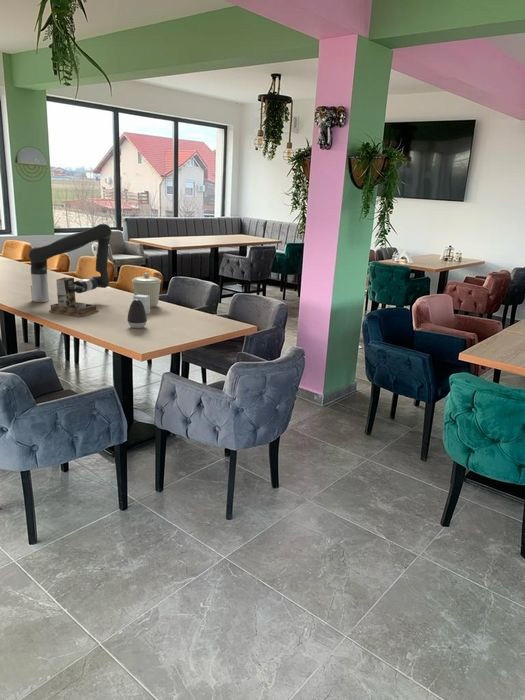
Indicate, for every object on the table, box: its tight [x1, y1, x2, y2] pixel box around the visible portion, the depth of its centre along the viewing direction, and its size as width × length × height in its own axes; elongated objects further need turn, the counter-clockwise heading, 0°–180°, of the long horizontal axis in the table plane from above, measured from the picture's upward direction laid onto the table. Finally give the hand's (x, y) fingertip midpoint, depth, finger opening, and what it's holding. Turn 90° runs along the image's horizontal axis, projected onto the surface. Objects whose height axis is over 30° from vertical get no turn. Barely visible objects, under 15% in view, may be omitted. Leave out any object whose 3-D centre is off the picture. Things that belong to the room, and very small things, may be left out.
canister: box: [131, 272, 162, 309], centre depth 331 cm, size 18×18×21 cm
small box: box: [132, 294, 151, 315], centre depth 315 cm, size 8×6×10 cm
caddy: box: [48, 301, 99, 318], centre depth 311 cm, size 22×16×5 cm
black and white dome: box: [127, 299, 148, 329], centre depth 282 cm, size 10×10×15 cm
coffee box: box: [56, 277, 77, 307], centre depth 310 cm, size 9×6×16 cm
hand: (63, 290), depth 308 cm, fingers closed on coffee box, 7 cm apart
